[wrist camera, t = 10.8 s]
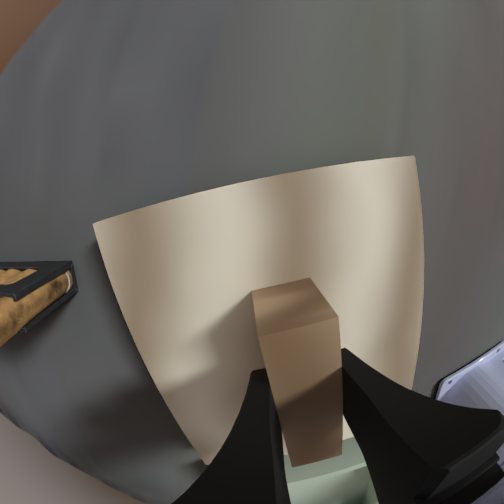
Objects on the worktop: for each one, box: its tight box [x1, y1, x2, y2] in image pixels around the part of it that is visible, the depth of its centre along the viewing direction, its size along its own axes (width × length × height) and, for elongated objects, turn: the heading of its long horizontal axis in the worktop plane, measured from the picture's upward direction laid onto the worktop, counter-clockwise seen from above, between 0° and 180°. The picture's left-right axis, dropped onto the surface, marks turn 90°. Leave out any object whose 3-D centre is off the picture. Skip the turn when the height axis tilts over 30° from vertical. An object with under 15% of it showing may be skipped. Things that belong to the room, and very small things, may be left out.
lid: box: [93, 156, 424, 467], centre depth 11 cm, size 14×16×4 cm
